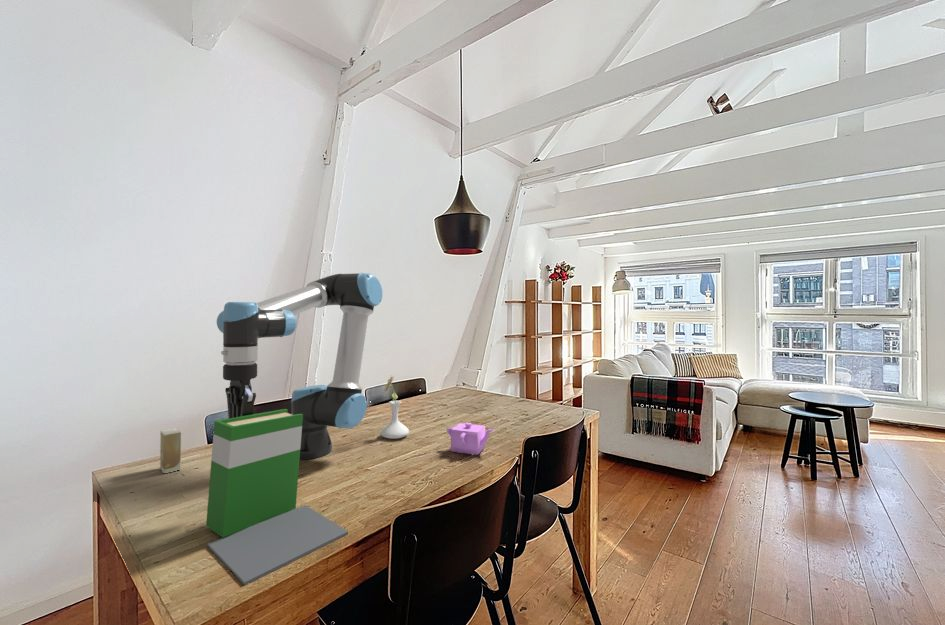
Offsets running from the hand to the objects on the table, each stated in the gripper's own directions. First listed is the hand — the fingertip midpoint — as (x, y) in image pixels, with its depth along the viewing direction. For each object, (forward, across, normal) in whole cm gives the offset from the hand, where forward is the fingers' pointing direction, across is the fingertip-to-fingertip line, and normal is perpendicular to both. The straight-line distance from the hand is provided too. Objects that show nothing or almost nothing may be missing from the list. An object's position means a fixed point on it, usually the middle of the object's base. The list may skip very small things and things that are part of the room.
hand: (239, 456), depth 102 cm
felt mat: (+14, +21, 0) cm, 25 cm away
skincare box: (+14, -42, -4) cm, 45 cm away
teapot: (+14, +18, +69) cm, 73 cm away
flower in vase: (+14, -15, +62) cm, 65 cm away
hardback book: (+13, +8, 0) cm, 15 cm away
